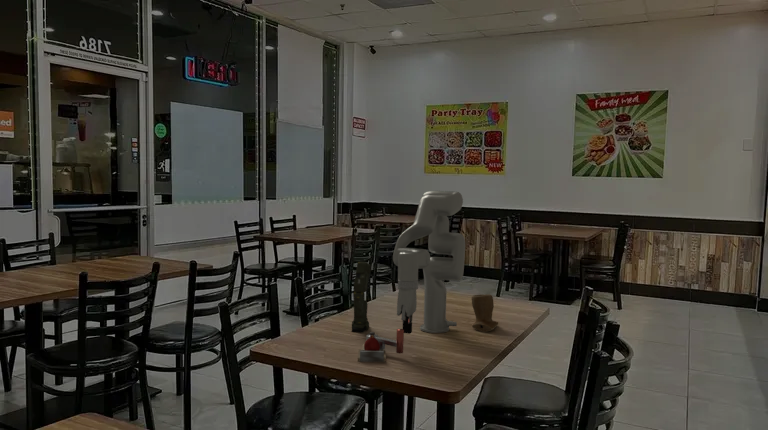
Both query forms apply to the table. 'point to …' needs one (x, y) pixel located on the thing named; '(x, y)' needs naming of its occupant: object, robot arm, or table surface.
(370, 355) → the base
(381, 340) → the lever
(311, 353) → the table surface
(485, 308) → the brown boot
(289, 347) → the table surface
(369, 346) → the onion
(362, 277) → the mechanical leg
